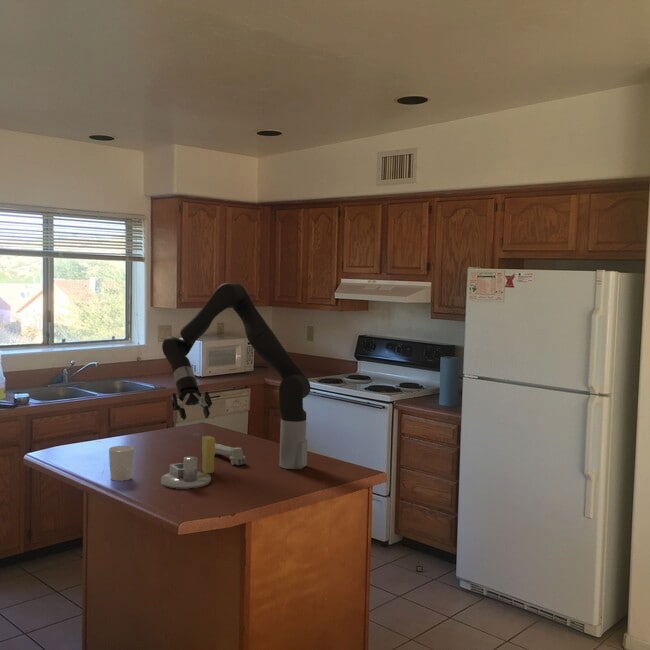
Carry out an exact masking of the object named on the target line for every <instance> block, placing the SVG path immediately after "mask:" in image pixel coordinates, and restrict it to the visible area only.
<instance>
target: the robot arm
mask: <svg viewBox="0 0 650 650" xmlns="http://www.w3.org/2000/svg"><path fill="white" fill-rule="evenodd" d="M230 308H232V309H233V310H234V311H235V313H236V314H237V315H238V317H239V318H240V319H241V321H242V323H243V327H244V331H245V335H246V338H247V341H248V343H249V344H250V345H251V347H252V349H253V350H254V351H255V352H256V354H257V355H258V356H259V358H260V359H261V360H263V361H264V362H266V363H267V364H268V365H269V366H270V367H272V368H273V369H274V370H275V372H277V374H278V375H279V376H280V378H281V381H280V382H279V386H278V387H279V388H278V410H279V413H280V432H279V433H280V435H279V436H280V437H279V460H278V461H279V463H278V464H279V467H280V468H283V469H284V470H285V469H286V470H287V469H288V470H303V469H304V468H306V466H307V465H308V439H306V438H307V411H306V410H304V407H303V406H304V402H303V401H304V399H305V398H307V397H308V395H310V392H311V383H310V381H309V379H308V377H307V376H306V375H305V374H304V372H303V371H302V370H301V369H300V368H299V367H298V366H297V364H296V363H295V362H294V361H293V359H292V358H291V356H290V355H289V354H288V352H287V351H286V349H285V348H284V346H283V345H282V343H281V342H280V341H279V339H278V337H277V336H276V334H275V333H274V331H272V329H271V328H270V326H269V325H268V324H267V322H266V321H265V319H264V318H263V316H262V315H261V314H260V312H259V311H258V309H257V307H256V306H255V305H254V303H253V301H252V299H251V297H250V295H249V293H248V292H247V290H246V289H245V287H244V286H243V285H241V284H239V283H237V282H225V283H222V284H220V285H219V286H218V287H217V288H216V290H215V291H214V292H213V293H212V295H211V296H210V297H209V300H207V302H206V303H205V304H204V305H203V307H202V308H201V309H200V310H199V311H198V312H197V313H196V314H195V316H193V318H191V319H190V320H189V321H188V322H187V323H186V324H184V326H183V327H182V328H181V329H180V332H179V334H180V336H181V338H182V339H181V338H179V337H175V336H172V335H171V336H167V337H165V338H164V339H163V341H162V345H161V346H162V347H161V349H162V353H163V355H164V356H165V358H166V360H167V362H168V363H169V364H170V366H171V370H172V373H173V379H174V384H175V387H176V389H177V393H178V394H176V393H175V392H174V393H171V394H172V395H171V396H170V400H171V405H172V410H173V411H178V412H179V416H180V418H181V419H182V421H185V420H186V419H187V414H186V409H185V408H184V407H185V406H188V407H190V406H197V407H199V408H200V409H202V412H203V415H204V418H205V419H208V418H209V417H210V415H211V413H210V410H209V409H210V408H211V407H212V405H213V403H212V399H211V397H210V394H209V391H205V392H204V393H202V392H201V391H200V389H199V386H198V382H197V379H196V375H195V373H194V371H193V369H192V365H191V361H190V359H189V357H187V356H188V354H189V353H190V351H191V350H192V349H193V346H194V345H195V343H196V342H197V340H199V338H200V337H202V336H203V335H204V333H206V332H207V331H208V329H209V328H210V327H211V324H212V323H213V321H214V319H215V318H216V317H217V316H218V315H219V314H221V313H222V312H223V311H226V310H227V309H230ZM178 400H180V401H181V404H180V405H179V404H178Z"/></svg>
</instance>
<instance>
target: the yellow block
mask: <svg viewBox="0 0 650 650" xmlns="http://www.w3.org/2000/svg"><path fill="white" fill-rule="evenodd" d="M201 439H202V440H201V454H202V456H201V459H202V460H201V462H202V466H201V467H202V468H201V469H202V470H201V472H204V473H207V474H213V472H214V473H215V471H214V469H215V455H216V454H215V443H216V438H215V437H213V436H211V435H204V436H202V437H201Z"/></svg>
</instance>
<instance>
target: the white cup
mask: <svg viewBox="0 0 650 650" xmlns="http://www.w3.org/2000/svg"><path fill="white" fill-rule="evenodd" d="M108 455H109V456H108V459H109V472H110V475H109V476H110V480H111V479H112V480H111V481H114V480H115V482H124V480H125V481H130V480H131V479H132V478H133V477H132V476H133V468H134V455H135V447H133V446H130V445H115V446H111V447H109V449H108Z"/></svg>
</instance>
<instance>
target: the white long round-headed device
mask: <svg viewBox="0 0 650 650" xmlns="http://www.w3.org/2000/svg"><path fill="white" fill-rule="evenodd" d="M215 455H222V456H229V460H230V465H231V466H233V465H234V466H235V465H236V466H240V465H241V466H242V465H244V464H245V459H246V456H245V455H243V448H242V447H232V446H228V445H223V444H219V443H216V442H215Z"/></svg>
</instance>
